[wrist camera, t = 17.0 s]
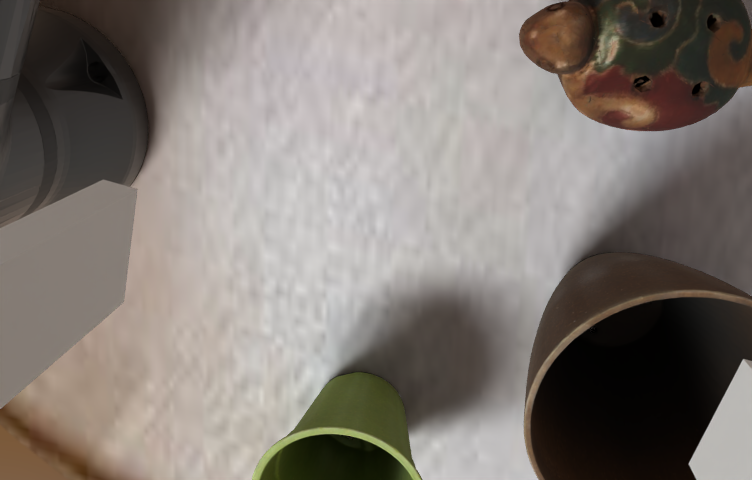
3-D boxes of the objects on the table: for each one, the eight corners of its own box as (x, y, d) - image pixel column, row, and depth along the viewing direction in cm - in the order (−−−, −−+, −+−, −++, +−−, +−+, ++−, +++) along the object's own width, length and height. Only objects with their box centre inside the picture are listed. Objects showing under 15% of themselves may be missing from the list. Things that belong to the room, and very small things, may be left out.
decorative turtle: (510, -37, 41) (533, -55, 33) (757, -34, 40) (838, -52, 33) (499, 120, 44) (518, 135, 36) (730, 125, 43) (799, 142, 36)
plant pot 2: (510, 196, 46) (533, 286, 31) (734, 200, 44) (873, 297, 29) (500, 381, 51) (516, 536, 36) (701, 391, 49) (806, 559, 34)
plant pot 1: (429, 476, 55) (422, 587, 44) (291, 459, 56) (251, 563, 45) (441, 351, 51) (435, 440, 40) (291, 336, 52) (248, 418, 41)
